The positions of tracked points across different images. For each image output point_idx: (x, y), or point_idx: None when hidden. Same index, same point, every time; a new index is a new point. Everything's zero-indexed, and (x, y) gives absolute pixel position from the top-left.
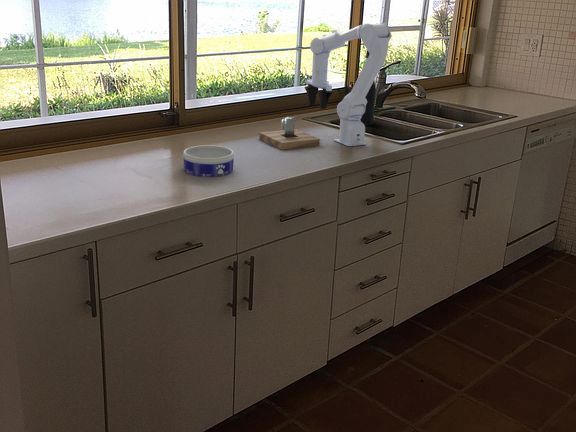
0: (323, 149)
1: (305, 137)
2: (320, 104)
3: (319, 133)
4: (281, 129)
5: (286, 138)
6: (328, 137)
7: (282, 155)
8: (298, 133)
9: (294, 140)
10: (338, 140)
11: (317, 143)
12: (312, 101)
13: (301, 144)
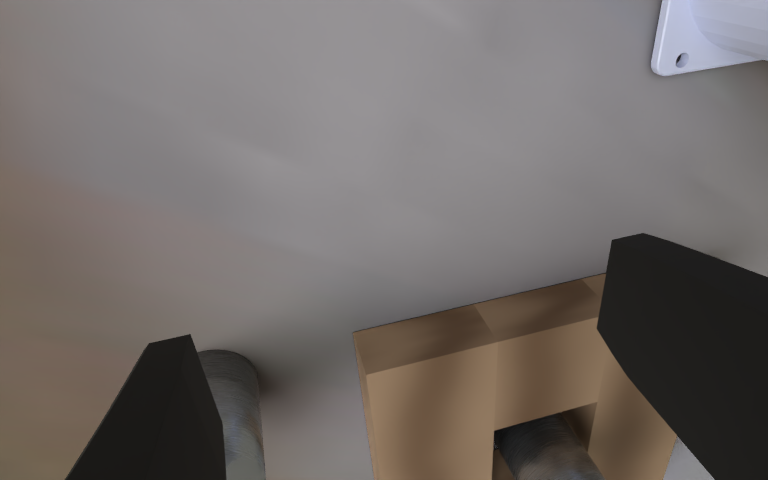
0: (763, 259)
1: None
2: (676, 405)
3: (325, 80)
4: None
5: None
6: (518, 60)
7: (703, 468)
8: (515, 389)
9: (657, 440)
10: (714, 52)
11: None
12: (204, 460)
13: None
